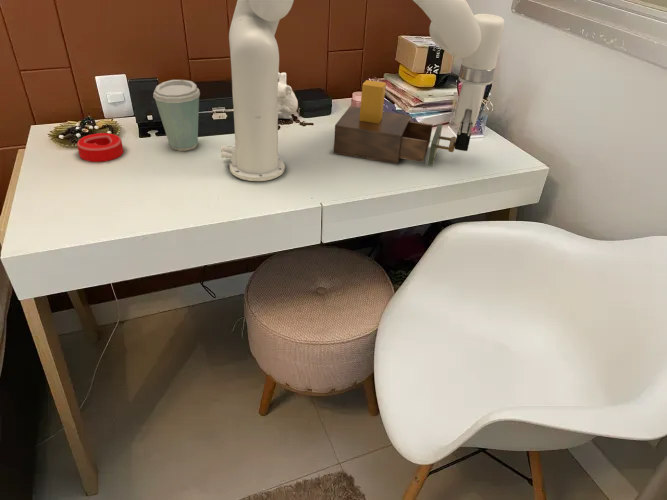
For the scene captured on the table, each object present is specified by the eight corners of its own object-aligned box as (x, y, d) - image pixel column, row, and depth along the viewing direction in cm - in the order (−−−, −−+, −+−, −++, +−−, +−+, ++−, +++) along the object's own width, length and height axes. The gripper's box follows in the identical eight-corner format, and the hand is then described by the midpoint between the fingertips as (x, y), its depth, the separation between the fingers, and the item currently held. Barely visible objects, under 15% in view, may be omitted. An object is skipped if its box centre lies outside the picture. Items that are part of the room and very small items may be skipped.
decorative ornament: (126, 144, 129) (124, 132, 128) (119, 161, 122) (117, 148, 120) (84, 144, 128) (82, 132, 126) (75, 162, 120) (72, 149, 118)
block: (359, 120, 131) (362, 84, 126) (362, 115, 134) (366, 79, 129) (378, 123, 130) (382, 87, 125) (382, 118, 133) (386, 82, 128)
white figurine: (268, 112, 152) (267, 70, 146) (290, 110, 155) (290, 69, 148) (277, 123, 146) (277, 80, 139) (300, 121, 149) (301, 78, 142)
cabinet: (407, 142, 140) (411, 115, 136) (397, 164, 129) (401, 135, 125) (347, 132, 144) (349, 106, 139) (333, 153, 132) (335, 124, 128)
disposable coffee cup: (195, 157, 126) (189, 95, 117) (152, 152, 127) (143, 90, 118) (211, 140, 134) (206, 81, 126) (170, 135, 135) (163, 76, 127)
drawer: (454, 148, 137) (459, 127, 134) (449, 168, 126) (454, 146, 123) (381, 136, 141) (383, 115, 138) (370, 155, 130) (372, 133, 127)
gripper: (462, 63, 126) (448, 135, 137) (456, 80, 114) (442, 158, 125) (494, 67, 125) (478, 140, 135) (492, 85, 113) (474, 163, 123)
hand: (461, 148), depth 130 cm, fingers closed
